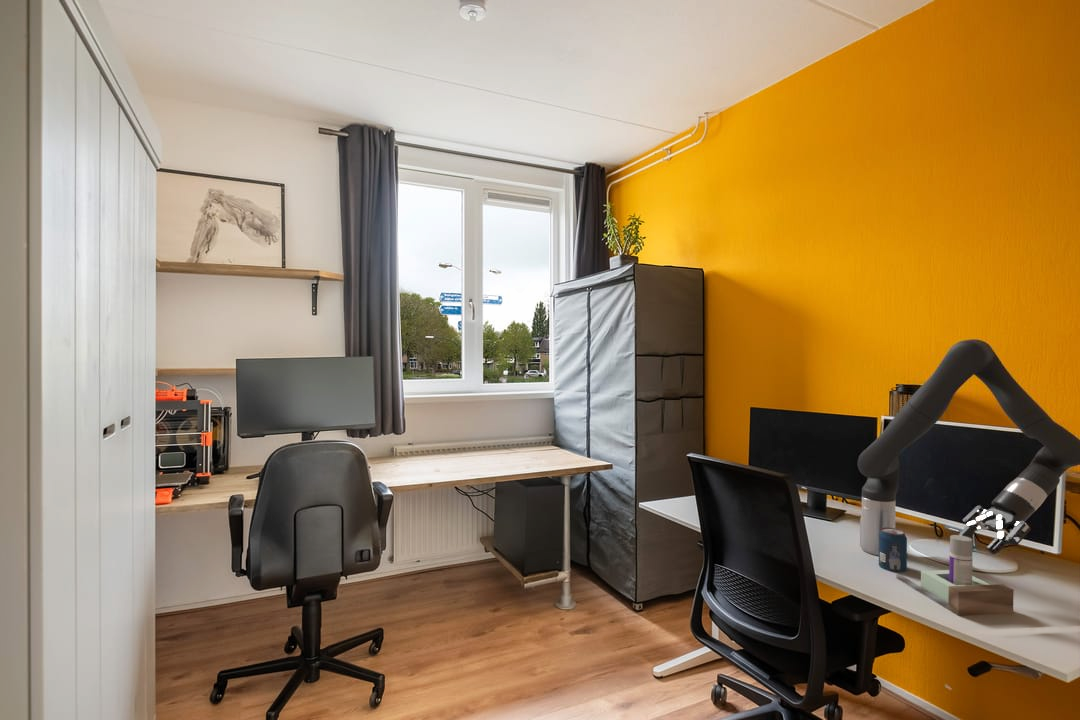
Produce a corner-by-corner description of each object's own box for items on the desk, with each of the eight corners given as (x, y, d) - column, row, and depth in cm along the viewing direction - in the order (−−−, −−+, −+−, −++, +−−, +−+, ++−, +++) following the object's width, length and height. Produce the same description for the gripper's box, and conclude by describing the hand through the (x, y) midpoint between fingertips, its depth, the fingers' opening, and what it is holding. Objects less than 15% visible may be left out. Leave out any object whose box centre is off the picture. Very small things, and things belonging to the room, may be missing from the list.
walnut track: (896, 581, 154) (896, 557, 154) (943, 580, 155) (944, 555, 155) (963, 623, 131) (964, 594, 131) (1019, 621, 132) (1020, 592, 132)
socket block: (920, 589, 147) (921, 571, 147) (960, 587, 147) (960, 569, 147) (954, 609, 136) (954, 589, 136) (996, 607, 136) (996, 587, 136)
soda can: (893, 565, 165) (894, 526, 165) (912, 575, 158) (913, 534, 158) (873, 567, 164) (873, 527, 164) (891, 577, 157) (891, 535, 157)
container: (949, 589, 144) (950, 533, 144) (972, 595, 141) (973, 537, 141) (948, 596, 141) (949, 538, 140) (971, 601, 138) (972, 542, 137)
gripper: (985, 482, 147) (943, 526, 147) (1035, 497, 133) (989, 545, 133) (1004, 501, 148) (962, 545, 148) (1056, 518, 134) (1010, 566, 133)
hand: (975, 545), depth 140 cm, fingers open, 8 cm apart
